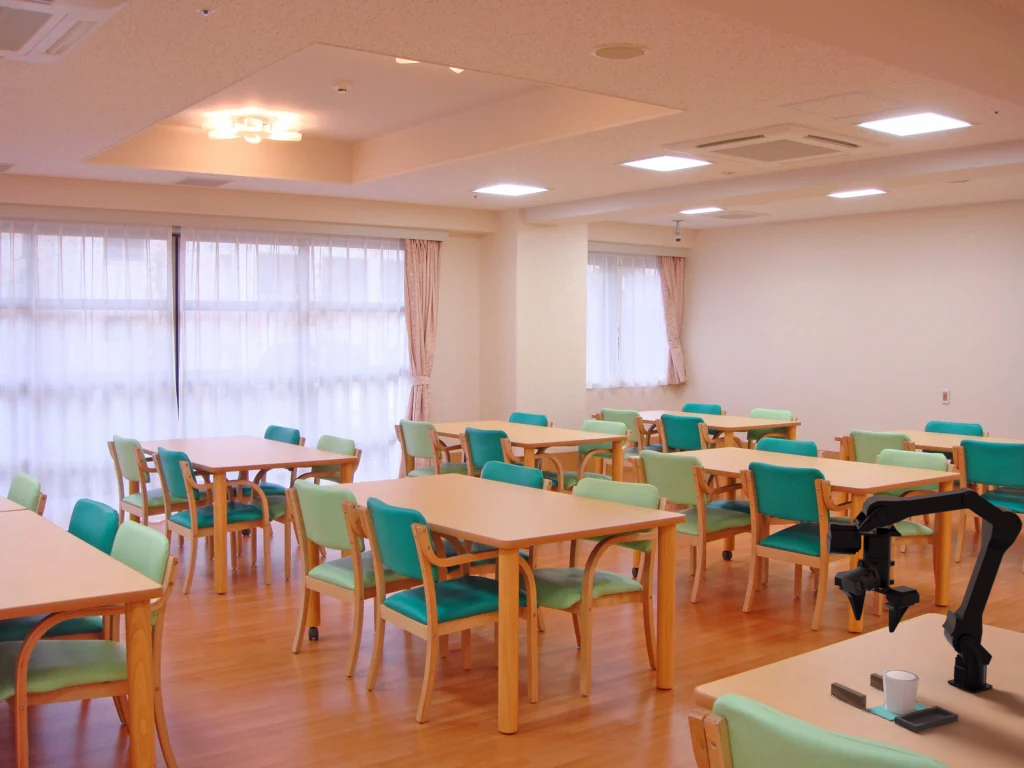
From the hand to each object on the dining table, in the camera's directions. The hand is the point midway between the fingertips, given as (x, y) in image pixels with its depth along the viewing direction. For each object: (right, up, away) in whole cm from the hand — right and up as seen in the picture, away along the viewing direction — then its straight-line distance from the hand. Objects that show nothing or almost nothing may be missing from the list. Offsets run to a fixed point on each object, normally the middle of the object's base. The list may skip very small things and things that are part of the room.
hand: (874, 626), depth 212 cm
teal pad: (-1, -13, -15) cm, 20 cm away
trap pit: (+2, -14, -21) cm, 25 cm away
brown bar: (-4, -13, -8) cm, 16 cm away
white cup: (-1, -13, -15) cm, 20 cm away
